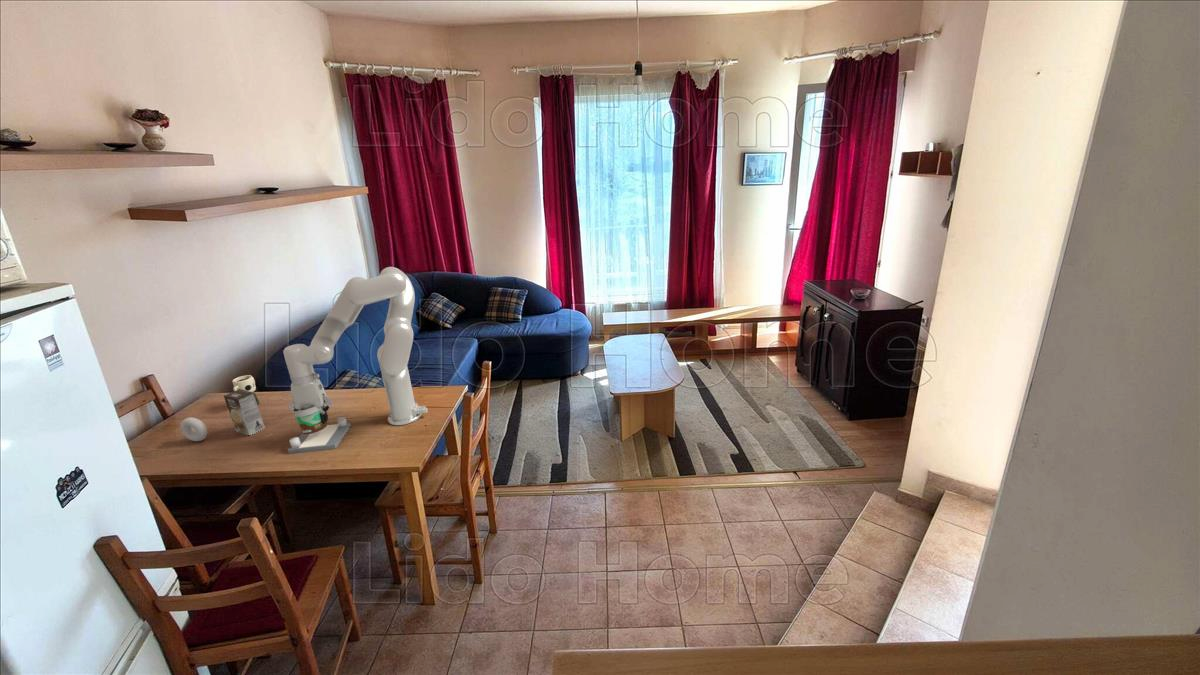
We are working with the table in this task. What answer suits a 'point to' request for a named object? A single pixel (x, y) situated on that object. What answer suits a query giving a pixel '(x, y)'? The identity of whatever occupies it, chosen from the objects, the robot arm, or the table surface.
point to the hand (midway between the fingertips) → (316, 422)
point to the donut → (197, 425)
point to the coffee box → (244, 411)
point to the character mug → (245, 384)
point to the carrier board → (320, 438)
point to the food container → (310, 420)
